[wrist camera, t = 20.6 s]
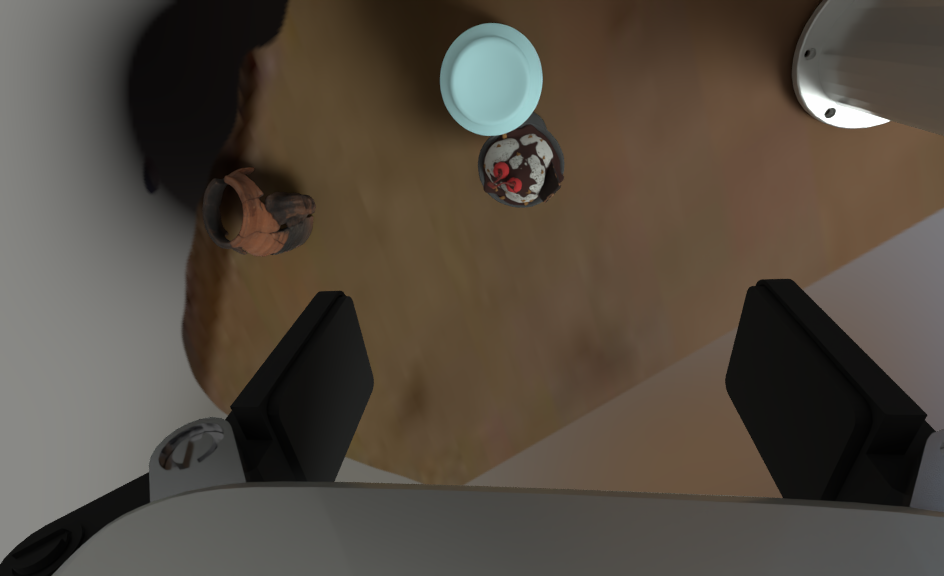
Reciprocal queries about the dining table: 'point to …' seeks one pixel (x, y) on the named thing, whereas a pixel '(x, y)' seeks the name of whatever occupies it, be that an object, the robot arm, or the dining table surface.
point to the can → (491, 79)
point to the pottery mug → (259, 217)
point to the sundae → (522, 165)
